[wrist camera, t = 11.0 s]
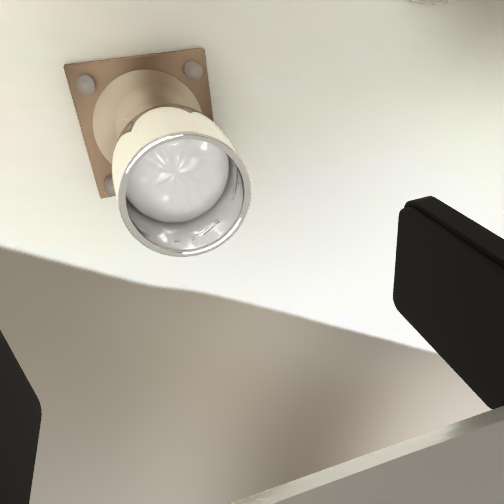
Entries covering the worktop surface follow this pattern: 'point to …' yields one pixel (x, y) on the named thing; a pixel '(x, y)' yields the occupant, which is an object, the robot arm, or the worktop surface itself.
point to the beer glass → (176, 174)
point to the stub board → (119, 85)
